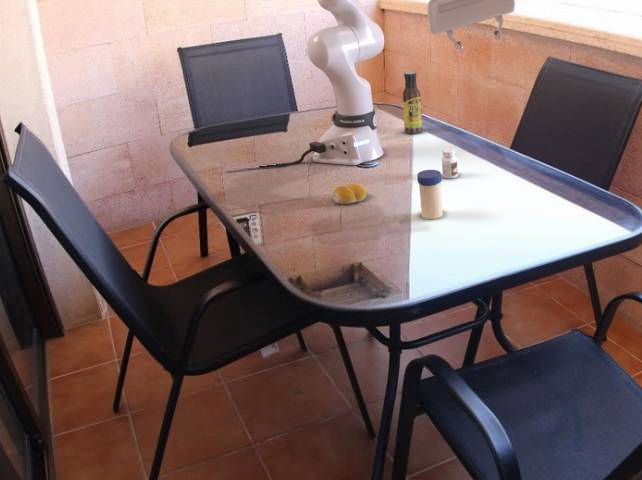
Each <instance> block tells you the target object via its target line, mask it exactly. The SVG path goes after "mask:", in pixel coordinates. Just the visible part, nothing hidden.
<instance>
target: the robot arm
mask: <svg viewBox="0 0 642 480" xmlns="http://www.w3.org/2000/svg"><path fill="white" fill-rule="evenodd" d="M317 3H318V4H319V6H320V7H321V8H322V9H324V10H325V11H327V12H330V14H332V15H333V17H334V19H335V20H336V23H337V25H334V26H329V27H325V28H322V29H320V30H318V31H316V32H314V33H313V34H311V35H309V37H308V40H307V42H306V52H307V56H308V58H309V60H310V62H311V63H312V64H313V65H314V66H315V67H316V68H317V69H319V70H321V71H322V72H323V74H325V75H326V77H327V78H328V80H329V82H330V83H331V86H332V90H333V95H334V99H335V104H336V110H334V113H333V114H332V115H331V117H330V119H331V122H332V123H333V124H332V125H331V126H330V127H328V129H327V130H326V131H325V132H324V133H323V134H322V135H321V136H320V137H319V140H318V141H312V142H309V143H308V144H309V149H307V150H306V151H304V152H303V153H302V154H301V156H300V158H299V159H298V160H295V161H291V162H279V164H278V163H275V164H276V165H268V164H266V165H267V166H259V167H260V168H259V169H267V168H269V169H270V168H278V167H279V168H280V167H288V166H293V165H298V164H300V163H302V162H303V161H304V159H305V158H306V156H307V155H309V154H310V153H312V152H313V155H312V162H314V163H324V164H334V165H335V164H336V165H345V166H346V165H347V166H357V165H360V164H362V163H366V162H371V161H374V160H377V159H379V158H381V157H383V155H384V150H383V147H382V145H381V142H380V138H379V134H378V129H377V126H378V125H377V124H378V122H377V115H376V110H375V108H374V102H373V96H372V95H373V94H372V87H371V84H370V82H369V81H368V80H367V79H365V77H362V76H360V75H358V73H357V71H356V68H355V64H358V63H361V62H365V61H368V60H371V59H372V58H374V57H376V56H378V55H379V54H381V53H382V51H383V50H384V47H385V35H384V32H383V30H382V28H381V27H380V25H378V23H377V22H375V21H374V20H372V19H371V18H370V17H369V15H367V12H366V11H365V10H364V8H363V7H362V5H361V2H360V0H317ZM516 8H517V4H516V0H429V1H428V3H427V8H426V11H427V20H428V25H429V30H430V33H431V34H433V35H434V36H436V35H439V34H443V33H446V36H447V38H448V39H449V40H450V41H451V42H452V43H453V44H454V47H455V51H456V52H459V51H461V50H463V45H462V41H461V40H460V41H457V40H456V38H454V37H453V36H454V30H457V29H461V28H463V27H467V26H470V25H474V24H477V23H481V22H484V21H487V20H491V19H494V18H495V22H496V23H498V25H497V28H496V30H495V31H493V35H494V39H495V41H496V40H500V39H502V38H503V36H502V32H501V30H502V28H503V27H502V26H503V22H504V17H503V16H505V15H509V14H512V13H514V12H515V10H516ZM280 163H281V164H280Z"/></svg>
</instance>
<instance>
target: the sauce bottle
mask: <svg viewBox="0 0 642 480" xmlns="http://www.w3.org/2000/svg"><path fill="white" fill-rule="evenodd" d="M403 77H404V86H405V87H404V89H403V91H402V109H403V110H402V113H403V126H404V132H405V133H406V134H411V135H412V134H419V133H422V132H423V114H422V98H421V91H420V90H419V89H418V85H417V72H416V71H412V70H409V71H405V72H404V73H403Z"/></svg>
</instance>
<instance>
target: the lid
mask: <svg viewBox="0 0 642 480" xmlns="http://www.w3.org/2000/svg"><path fill="white" fill-rule="evenodd" d="M416 180H417V183H418V185H419V184H421V185H426V186H429V185H436V184H438V183H440V182H441V183H442V173H441V171H440V170H438V169H425V170H421V171H419V172H418V173H417V175H416Z"/></svg>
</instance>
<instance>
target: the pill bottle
mask: <svg viewBox="0 0 642 480" xmlns="http://www.w3.org/2000/svg"><path fill="white" fill-rule="evenodd" d="M442 156H443V157H442V158H441V170H442V177H443V178H444V179H455V178H457V177H458V175H459V174H458V171H459V170H458V159H457V158H458V157H456V150H455V149H454V148H444V149H443V150H442Z"/></svg>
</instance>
